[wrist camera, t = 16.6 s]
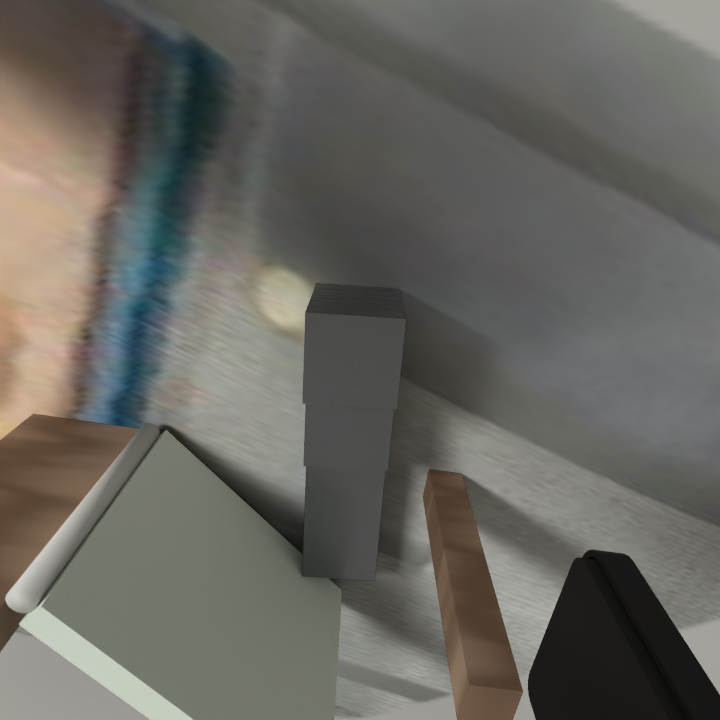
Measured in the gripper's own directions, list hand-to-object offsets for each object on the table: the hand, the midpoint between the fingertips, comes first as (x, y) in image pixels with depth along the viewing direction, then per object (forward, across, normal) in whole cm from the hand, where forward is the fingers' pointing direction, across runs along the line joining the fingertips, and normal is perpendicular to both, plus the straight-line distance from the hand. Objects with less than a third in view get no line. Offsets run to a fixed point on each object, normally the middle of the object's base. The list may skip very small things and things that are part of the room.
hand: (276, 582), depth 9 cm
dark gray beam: (+19, -2, +8) cm, 21 cm away
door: (+19, +3, +14) cm, 24 cm away
